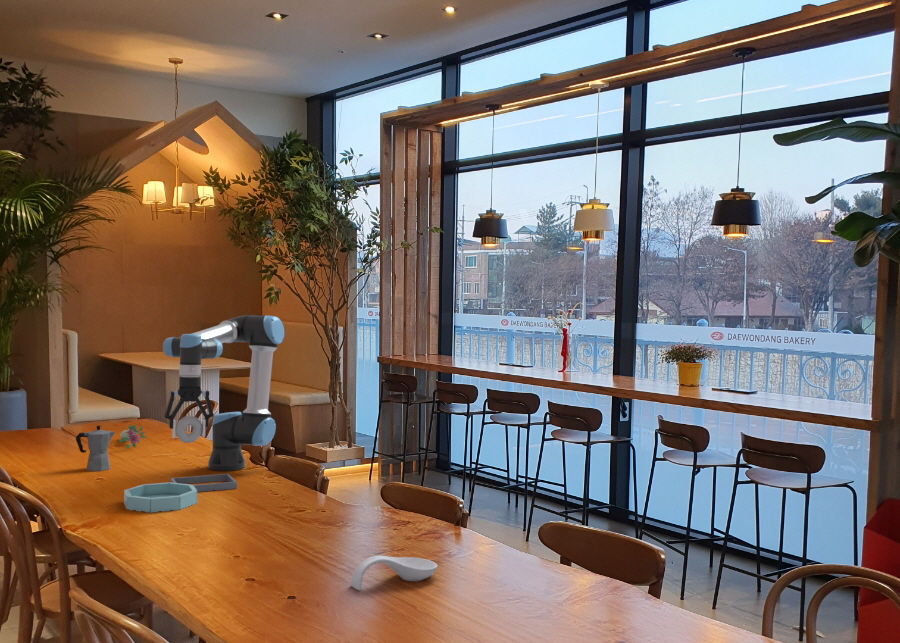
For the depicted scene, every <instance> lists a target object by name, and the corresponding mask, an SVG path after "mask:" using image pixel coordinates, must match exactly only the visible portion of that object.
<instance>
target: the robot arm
mask: <svg viewBox="0 0 900 643" xmlns="http://www.w3.org/2000/svg"><path fill="white" fill-rule="evenodd" d="M284 339H285V328H284V324H283V322H282V320H281V319H280V318H279V317H277V316H274V315H260V314H259V315H256V314H255V315H254V314H253V315H251V314H245V315H240V316H236V317H233V318H232V317H231V318H229V319H226V320H223V321H221V322H219V324H218V325H215V326H211V327H209V328H208V327H207V328H205V329H202V330H199V331H198V330H197V331H196V332H193V333H183V334H181V336H179V337H176V336H172V337H167V338H165V339H164V341H163V343H162V352H163V353H164V355H165V356H167V357H170V358H179V373H178V375H179V378H178V381H179V382H178V390H175V391H174V390H171V391H169V399H168V402H167V407H166V409H165V413H164V415H163V417H164V418H165V419H168V420H169V421H168V422H169V424H168V425H169V426H168V427H169V429H170V430H171V438H172V439H176V432H175V431H176V425H177V423H176V422H177V420H176V419H175V417H176V416H177V414H178V412H179V411H180V409H181V408H182V405H184V403H189V402H192V403H193V402H195V403H196V405H197V407H198V408H199V410H200V413H202V415H203V418H201V424H202V433H201V437H202V438H206V428H208V427H209V420H210V419H211V418H212V425H211V426H212V449H211V453H210V455H209V459H208V461H207V469H208V470H211V471H217V472H218V471H219V472H224V471H225V472H227V471H237V470H241V469H244V468H246V461H245V457H244V454H243V452H242V445H247V446H248V445H249V446H254V447H258V446H259V447H260V446H261V447H262V446H267V445H268V444H270V443H271V441H272V440H273V439H274V436H275V434H276V431H277V430H276V428H277V426H276V425H277V424H276V422H275V421H276V420H275V419H273V418H272V413H271V412H270V411H269V403H270V402H269V401H270V391H271V380H272V370H273V369H272V368H273V355H274V352H275V351H276V350H278V345H279V344H281V343H282V342H283V340H284ZM224 343H225V344H231V343H248V348H250V350H251V361H250V372H249V382H248V390H247V392H248V393H247V403H246V408H245V409H244V410H243V411H242V412H241V411H231V412H230V411H229V412H224V413H223V412H221V413H217V414H214V411H213V407H212V403H211V400H210V391H209V390H202V389H201V387H202V386H201V385H202V384H201V382H202V379H201V375H202V373H201V372H202V360H207V359H208V360H210V359H211V360H212V359H217V358H219V357H220V356H221V355H222V354H223V350H224V349H223V348H224V347H223V344H224ZM177 395H178V396H179V397H180V399H179V400H178V402H177V403H176V406H175V407H174V409H173V410H172V407H173V403H174V401H175V398H176V397H177ZM201 395H202V396H203V397H204V399H205V400H204V402H205V403H206V409H207V411H208V413H207V411H206V409H205V408H204V406H203V404H202V403H201V400H200V399H199V397H200V396H201ZM171 411H172V412H171ZM170 413H171V414H170Z"/></svg>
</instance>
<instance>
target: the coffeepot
mask: <svg viewBox="0 0 900 643" xmlns="http://www.w3.org/2000/svg"><path fill="white" fill-rule="evenodd" d="M115 434H116V432H115V431H111V430H104V429H101V425H96V430H92V431H87V432H79V433H78V434H77V435H76V437H75V440H76V443H77V446H78V450H79V452H80V453H82V454H83V453H87V449H84V448H83V447H84V446H83V444H82V439H81V438H86V439H87V440H86V441H87V446H88V450H89V454H88V459H87V465H86V471H88V470H89V472H102V471H103V470H104V471H107V470H110V467H111V464H110V459H109V453H108V448H109V444H110V441H111V439H112V437H113V436H114V435H115Z"/></svg>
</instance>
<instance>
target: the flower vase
mask: <svg viewBox="0 0 900 643" xmlns="http://www.w3.org/2000/svg"><path fill="white" fill-rule="evenodd" d="M141 431H142V432H141ZM145 432H146V431H143V425H141V426H140V428H139V430H137V427H136V425H131V424H129V426H128V429H125V430H122V431H121V432H120V435H119V437H120V439H119V441H118V443H123V442H127V441H128V442H129V443H127V445H126V448H125V449H126V450H127V449H129V448H130V447H131V446H132V447H133V448H136V445H137V444H136V443H138V444H140V439H146V438H147V437H146V436H145V435H144V434H145Z"/></svg>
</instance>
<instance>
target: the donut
mask: <svg viewBox="0 0 900 643" xmlns="http://www.w3.org/2000/svg"><path fill="white" fill-rule="evenodd" d="M188 426H191V427H192V430H191V432H190V433H187V432H186V427H188ZM201 436H202V421H201V420H200V419H199V418H198V417H196V416H194V415H186V416H184V417H182V418H180V419H179V420H178V421H177V423H176V431H175V437H177V439H178V440H179V441H180V442H183V443H185V444H188V443H189V444H190V443H194V442H195V441H198V439H199V438H200V437H201Z"/></svg>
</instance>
